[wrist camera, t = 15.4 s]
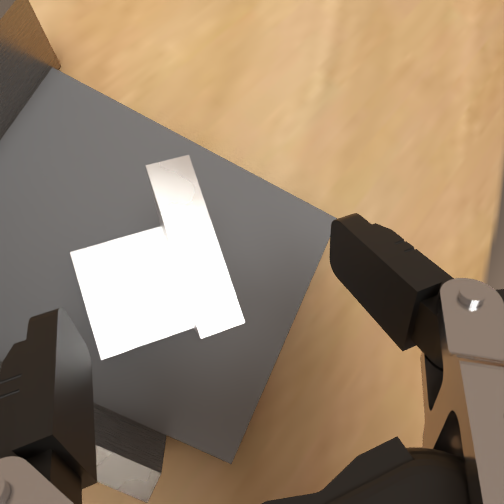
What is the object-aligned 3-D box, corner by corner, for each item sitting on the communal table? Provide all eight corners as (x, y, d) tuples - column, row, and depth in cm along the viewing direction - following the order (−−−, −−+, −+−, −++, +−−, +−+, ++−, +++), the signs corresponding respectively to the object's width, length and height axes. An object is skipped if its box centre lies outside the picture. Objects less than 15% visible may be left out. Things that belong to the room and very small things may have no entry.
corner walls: (-148, 318, 19) (-280, 321, 14) (43, 56, 23) (-1, -23, 18) (156, 452, 21) (147, 503, 15) (285, 185, 25) (314, 149, 19)
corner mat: (-110, 307, 19) (-119, 307, 19) (55, 73, 23) (52, 67, 22) (230, 460, 21) (231, 464, 21) (334, 221, 25) (337, 218, 24)
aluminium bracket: (105, 357, 20) (34, 399, 11) (75, 255, 21) (-19, 205, 11) (217, 318, 22) (244, 322, 12) (186, 223, 22) (189, 154, 13)
